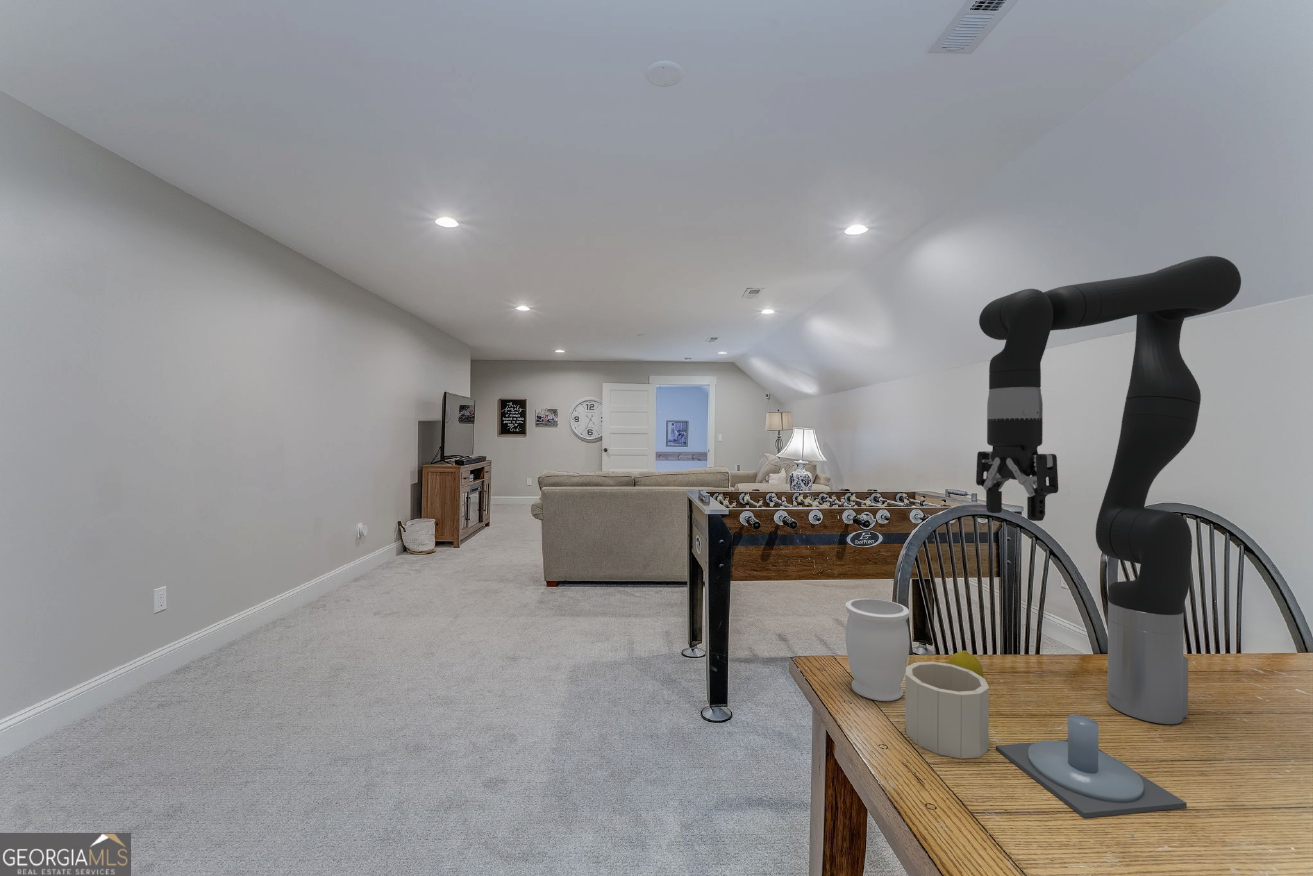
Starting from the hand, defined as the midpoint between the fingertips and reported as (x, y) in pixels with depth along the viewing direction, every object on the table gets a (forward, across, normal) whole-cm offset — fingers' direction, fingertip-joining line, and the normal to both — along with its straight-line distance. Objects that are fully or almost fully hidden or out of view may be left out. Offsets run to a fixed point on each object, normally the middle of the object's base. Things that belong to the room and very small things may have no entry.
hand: (1013, 516), depth 88 cm
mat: (+32, -16, +4) cm, 36 cm away
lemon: (+32, +6, +4) cm, 33 cm away
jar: (+32, +10, +18) cm, 38 cm away
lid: (+32, -16, +4) cm, 36 cm away
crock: (+32, -5, +16) cm, 36 cm away
